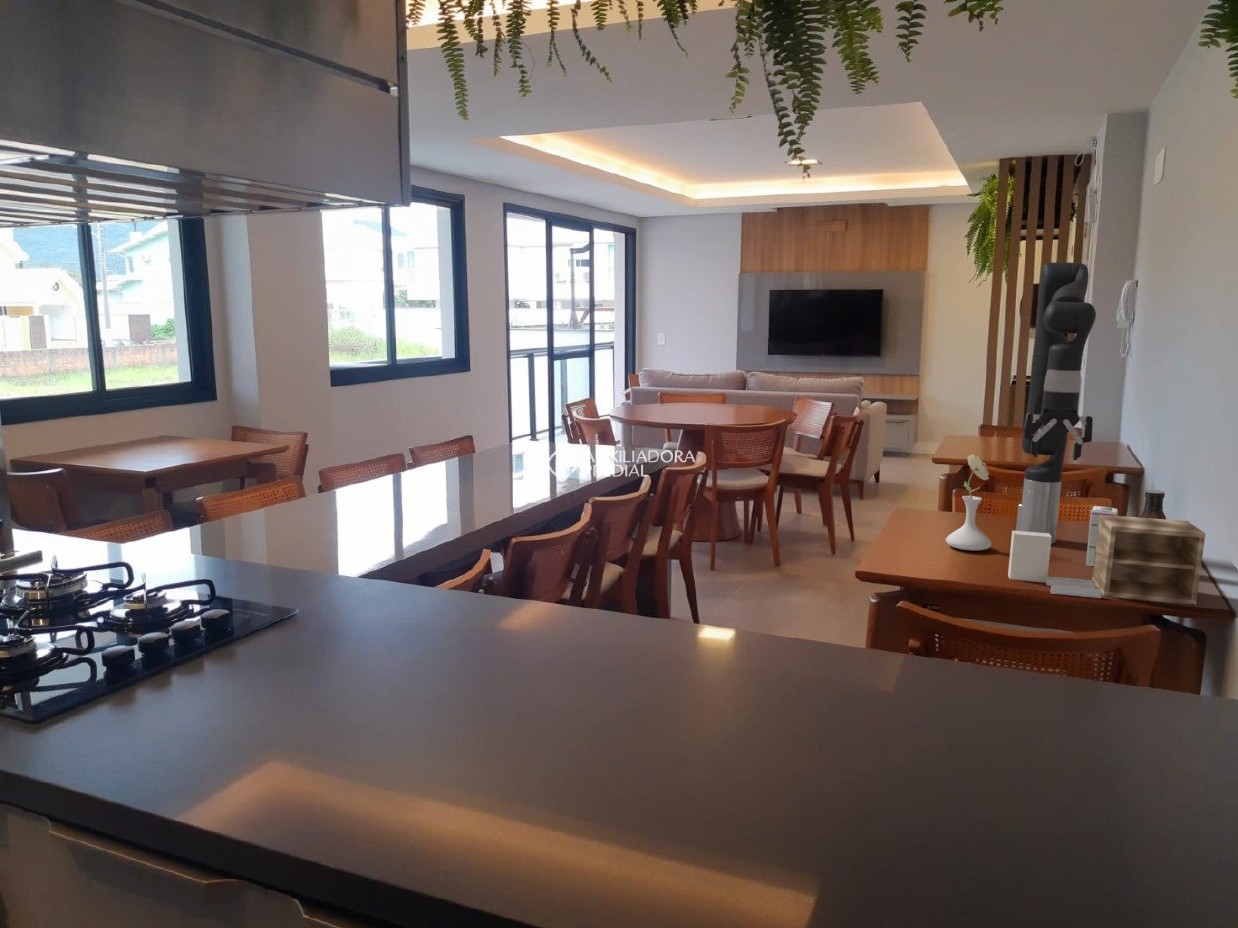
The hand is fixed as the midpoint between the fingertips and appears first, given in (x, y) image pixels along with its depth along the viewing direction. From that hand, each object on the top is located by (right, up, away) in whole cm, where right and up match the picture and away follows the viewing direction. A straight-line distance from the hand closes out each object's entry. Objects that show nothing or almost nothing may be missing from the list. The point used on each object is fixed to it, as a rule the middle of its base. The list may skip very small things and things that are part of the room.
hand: (1054, 458), depth 207 cm
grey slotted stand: (0, -30, -8) cm, 31 cm away
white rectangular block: (-6, -29, +1) cm, 29 cm away
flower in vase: (-9, -24, +28) cm, 38 cm away
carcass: (+16, -30, -8) cm, 35 cm away
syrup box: (+18, -27, +14) cm, 35 cm away
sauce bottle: (+28, -28, +10) cm, 41 cm away
